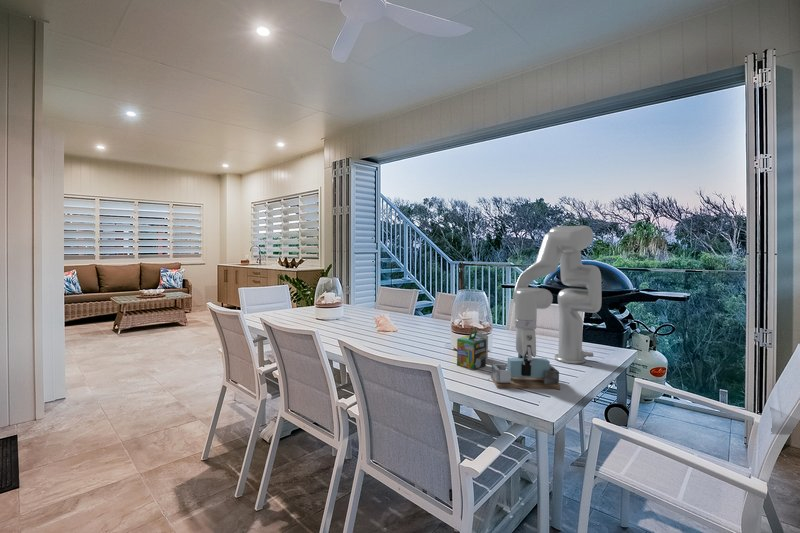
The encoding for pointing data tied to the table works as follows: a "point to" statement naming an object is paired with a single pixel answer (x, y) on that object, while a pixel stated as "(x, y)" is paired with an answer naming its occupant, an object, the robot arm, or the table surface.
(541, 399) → the table surface
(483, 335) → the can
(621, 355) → the table surface
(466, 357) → the chalk box
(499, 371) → the end cap
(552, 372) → the board
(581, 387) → the table surface
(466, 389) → the table surface
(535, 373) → the grey-blue block
